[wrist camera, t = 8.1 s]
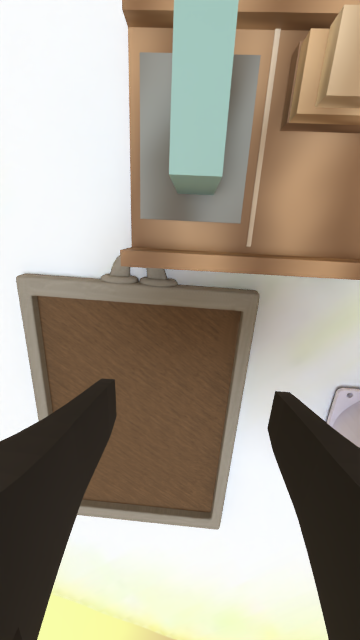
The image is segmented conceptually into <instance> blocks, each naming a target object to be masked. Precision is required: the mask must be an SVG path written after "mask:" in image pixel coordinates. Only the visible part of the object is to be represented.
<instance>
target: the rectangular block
mask: <svg viewBox="0 0 360 640" xmlns="http://www.w3.org/2000/svg"><path fill="white" fill-rule="evenodd" d="M238 3H239V0H174V18H173V52H172V86H171V119H170V153H169V176H170V178H171V180H172V182H173V184H174V187H175V189H176V191H177V193H178V194H197V195H214V193H215V191H216V189H217V186H218V184H219V182H220V180H221V178H222V174H223V164H224V153H225V142H226V131H227V121H228V110H229V99H230V89H231V78H232V67H233V56H234V46H235V35H236V24H237V14H238Z"/></svg>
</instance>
